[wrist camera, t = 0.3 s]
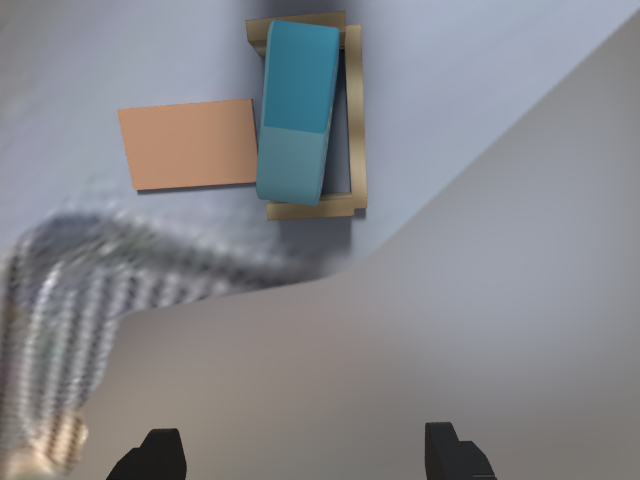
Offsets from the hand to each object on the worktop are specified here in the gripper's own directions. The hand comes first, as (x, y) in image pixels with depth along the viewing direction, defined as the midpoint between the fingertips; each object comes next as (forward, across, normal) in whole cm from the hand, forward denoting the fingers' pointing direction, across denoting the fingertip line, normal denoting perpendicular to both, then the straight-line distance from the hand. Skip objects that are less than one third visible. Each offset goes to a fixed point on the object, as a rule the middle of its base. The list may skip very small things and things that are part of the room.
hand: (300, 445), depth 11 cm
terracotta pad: (+27, +13, -10) cm, 32 cm away
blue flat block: (+28, +1, -11) cm, 30 cm away
